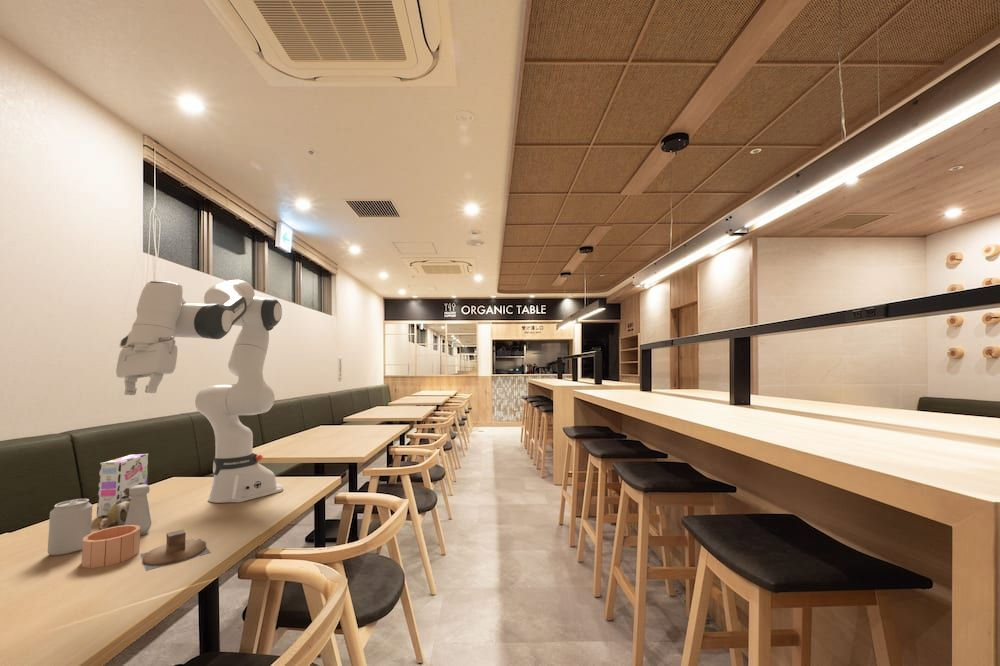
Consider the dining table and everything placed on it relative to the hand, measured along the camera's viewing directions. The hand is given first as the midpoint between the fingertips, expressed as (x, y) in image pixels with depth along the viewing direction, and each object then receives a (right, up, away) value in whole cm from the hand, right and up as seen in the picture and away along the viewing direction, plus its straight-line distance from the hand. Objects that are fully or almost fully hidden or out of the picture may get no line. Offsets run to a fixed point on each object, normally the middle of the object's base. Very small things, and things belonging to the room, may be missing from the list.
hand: (139, 394), depth 105 cm
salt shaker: (-9, -40, +10) cm, 42 cm away
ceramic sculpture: (-19, -41, +17) cm, 48 cm away
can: (-18, -39, 0) cm, 43 cm away
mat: (+11, -38, -3) cm, 40 cm away
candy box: (-32, -42, +31) cm, 61 cm away
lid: (+11, -38, -3) cm, 40 cm away
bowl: (-3, -38, -4) cm, 39 cm away
